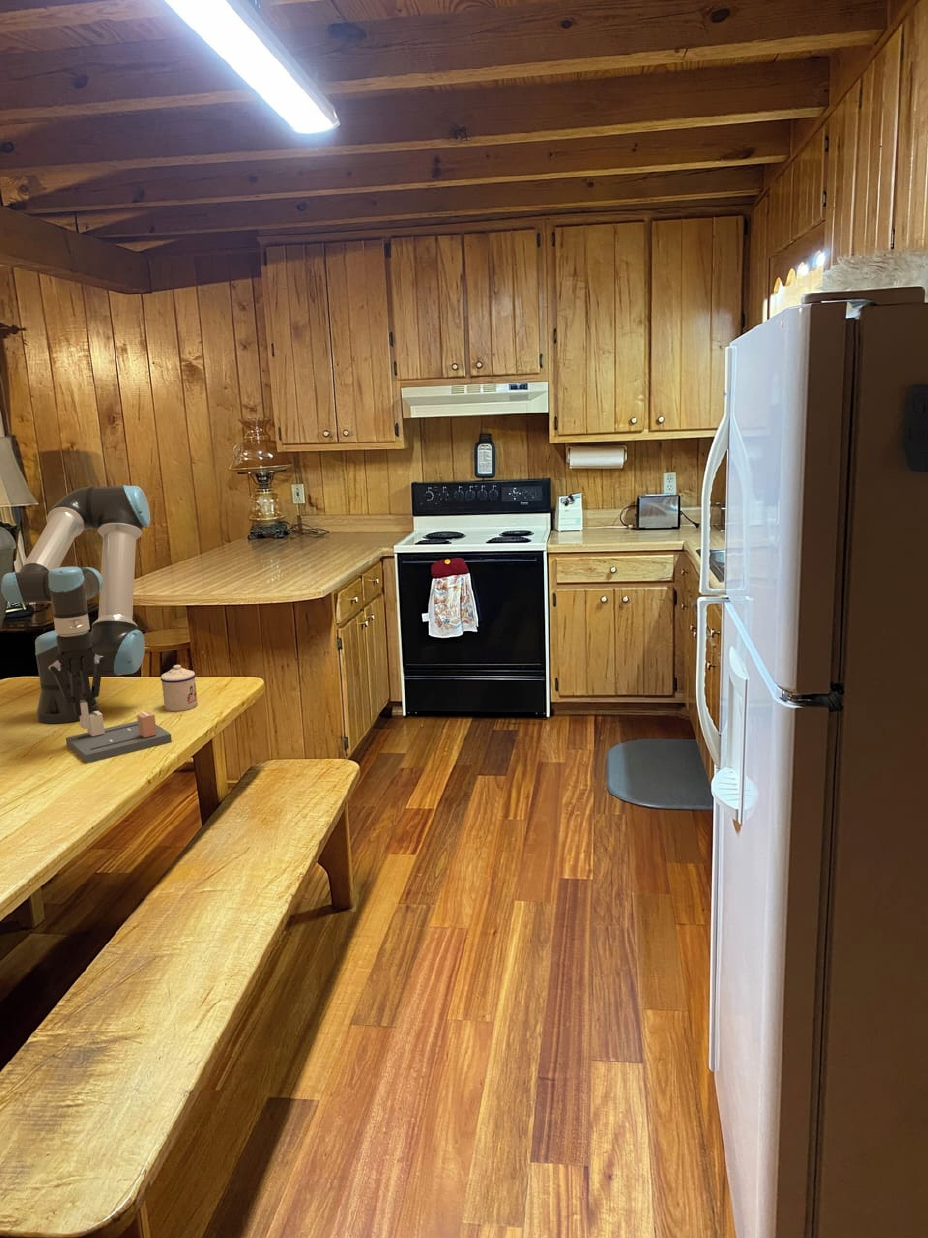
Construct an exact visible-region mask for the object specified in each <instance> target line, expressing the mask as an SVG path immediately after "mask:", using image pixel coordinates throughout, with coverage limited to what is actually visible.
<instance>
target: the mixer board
mask: <svg viewBox="0 0 928 1238" xmlns="http://www.w3.org/2000/svg"><path fill="white" fill-rule="evenodd" d="M104 730H105V734H100V735H96V736H91V735H90V734H89V733H88V732H84V733H80V734H76V735H71V736H67V737H65V743H66V747H68V748H69V749H70V750H71V751H72V752H73V753H75V754H76V755H77V756H78V757H79V758H80V759H81V760H82V761H83V762H85V763H86V764H89V763H93V762H98V761H101V760H105V759H110V758H112V757H117V756H121V755H125V754H129V753H133V752H137V751H142V750H145V749H149V748H152V747H156V746H161V745H165V744H169V743H172V741H173V740H172V733H170V732H169V731H167V730H166V729H164V728H162V727H161V726H159V725H158V724H156V733H157V735H153V736H149V737H145V738H144V737H143V736H141V735H140V734H139V728H138V720H135V721H132V722H127V723H122V724H119V725H114V726H110V727H104Z"/></svg>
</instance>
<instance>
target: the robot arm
mask: <svg viewBox="0 0 928 1238" xmlns="http://www.w3.org/2000/svg"><path fill="white" fill-rule="evenodd" d="M46 523H47V524H46V525H45V528H44V529H43V531H42V533H41V534H40V535H39V537H38V539H37V541H36V543H35V544H34V546H33V548H32V549H31V551H30V553H29V554H28V557H27V558H26V559H25V561H24V563H23V565H22V567H21V568H20V569H19V571H18V572H17V571H13V572H8V573H5V574H4V575H3V576H2V579H1V583H0V584H1V585H0V589H1V590H0V591H1V594H2V596H3V599H4V600H5V601H6V602H8V603H10V604H32V603H33V604H34V603H48V602H49V603H50V602H51V607H52V608H51V609H52V616H53V623H54V630H51V631H48V632H45V633H43V634H41V635H39V636H37V637H36V639H35V641H34V645H35V653H34V655H35V658H36V665H37V670H38V671H37V672H38V678H39V685H40V694H39V699H38V705H37V710H36V714H37V720H38V721H39V722H40V723H45V724H64V723H65V724H66V723H72V722H77V721H78V722H80V727H81V728H82V729H83V730H87V729H88V728H90V720H89V714H91V713H92V711H93V712H94V711H99V710H100V709H99V703H98V700H97V698H98V697H99V696H100V689H101V679H102V676H103V677H104V676H118V677H120V676H122V675H123V676H124V675H131V674H134V673H137V671H139V669H140V668H141V666H142V665H143V661H144V658H145V652H146V648H145V647H146V644H145V642H146V641H145V635H144V633H143V632H142V631H141V630H139V626H138V624H137V623H136V622H135V621H134V620H133V617H134V614H133V612H134V595H135V594H134V589H135V572H136V571H135V569H136V568H135V567H136V549H137V540H138V539H139V538H140V537H142V536H143V528H147V527H149V526H150V524H151V511H150V506H149V502H148V499H147V496H146V494H145V492H144V490H143V489H142V488H141V487H140V486H137V485H125V484H123V485H118V486H117V485H116V486H115V485H114V486H93V487H92V486H87V487H81V488H78V489H76V490H74V491H71V492H70V493H68V494H66V495H65V496H64V497H62V498H61V499H59V500H58V501H57V502H56V503H55V504H54V505H53V506H52V508H51V509H50V511H49V513H48V514H47V517H46ZM93 529H94V530H97V533H98V534H99V535H100V536H101V537H102V551H101V567H100V569H101V570H100V572H99V571H98V570H97V569H95V568H93V567H91V566H90V567H88V566H86V567H79V566H61V565H62V562H63V561H64V559H65V557H66V555H67V553H68V551H69V549H70V548H71V546H72V544H73V541H74V540H75V538H76V537H79V536H80V535H82V533H83V531H85V530H86V531H87V530H93ZM60 566H61V567H60ZM98 594H99V600H98V603H99V604H98V618H97V619H96V620H95V621H94V622H93V623H91V627H90V619H89V614H88V613H89V611H88V603H87V601H88V600H90V599H92V598H95V597H96V596H97V595H98ZM90 628H91V629H90ZM89 630H91V631H89ZM90 677H92V679H91V680H92V681H91V683H90ZM90 685H91V686H90ZM99 712H100V711H99Z"/></svg>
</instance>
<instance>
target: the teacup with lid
mask: <svg viewBox="0 0 928 1238" xmlns="http://www.w3.org/2000/svg"><path fill="white" fill-rule="evenodd" d="M196 675H197V674H196V673H195V671H194V670H189V669H186V668H183V667H182V666H181V664H174V665H173V667H172V668H171V669H170V670H168V671H167V672H165V673H163V674H162V675H161V676H160V681H161V685H162V693H163V695H162V696H163V704H164V709H165V710H166V711H170V712H183V710H184V711H187V710H191V709H194V708H196V707H197V706H198V695H197V685H196Z"/></svg>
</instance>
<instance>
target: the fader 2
mask: <svg viewBox="0 0 928 1238" xmlns="http://www.w3.org/2000/svg"><path fill="white" fill-rule="evenodd" d="M155 717H156V716H155V713H152V712H151V711H146V712H145V711H142V712H141V713H137V714H136V718H137V721H138V728H139V734H140V735H141V736H143V737H144V738H145V737H149V736H153V735H157V733H156V725H157V724H156V718H155Z"/></svg>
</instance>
